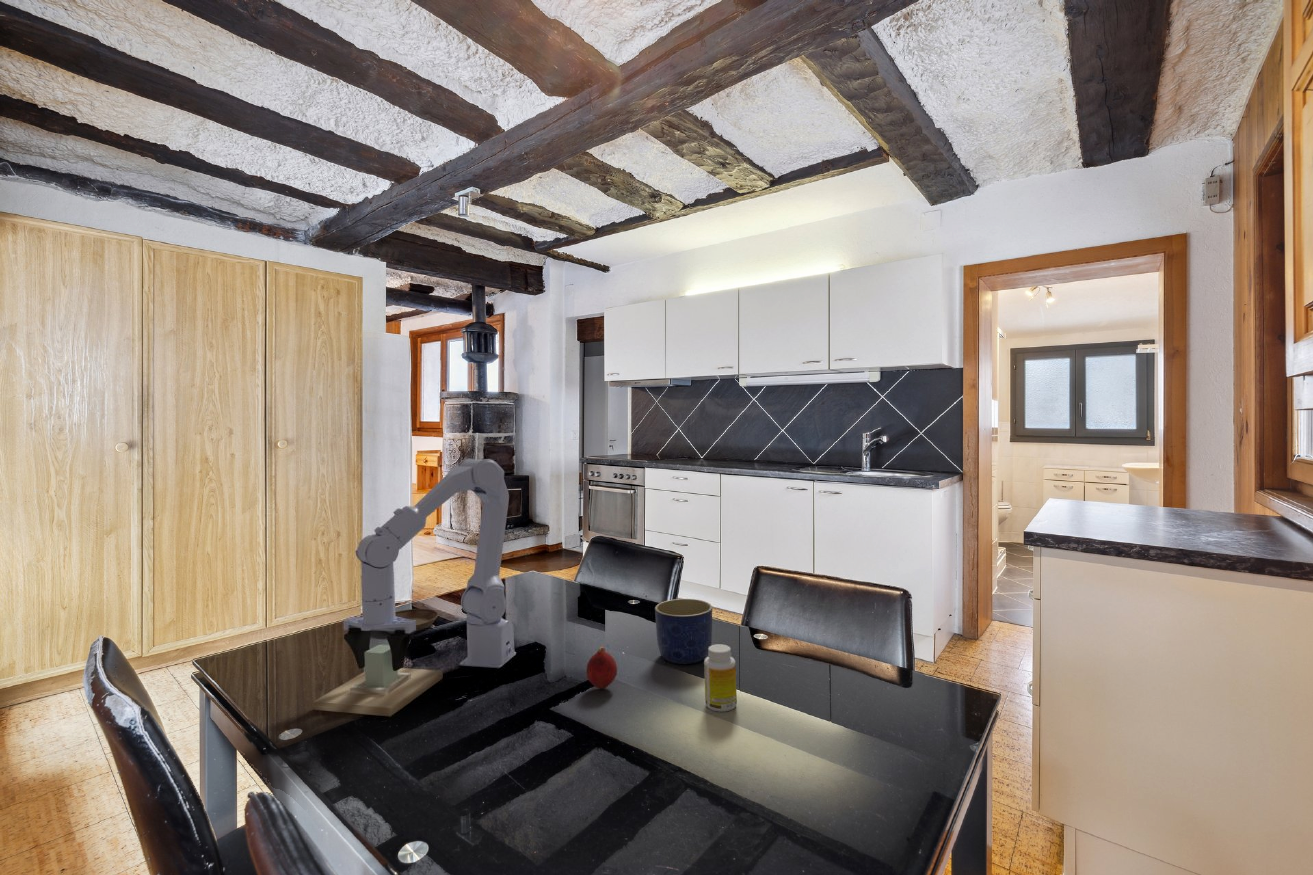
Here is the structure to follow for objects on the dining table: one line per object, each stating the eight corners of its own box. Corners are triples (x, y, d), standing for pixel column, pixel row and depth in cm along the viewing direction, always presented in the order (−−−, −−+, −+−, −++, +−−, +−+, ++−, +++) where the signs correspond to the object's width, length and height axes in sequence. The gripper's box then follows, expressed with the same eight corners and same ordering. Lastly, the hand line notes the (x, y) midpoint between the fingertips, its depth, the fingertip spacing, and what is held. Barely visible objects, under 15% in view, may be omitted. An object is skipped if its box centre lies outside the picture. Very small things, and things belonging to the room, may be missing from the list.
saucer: (444, 628, 149) (444, 618, 149) (382, 641, 141) (381, 630, 141) (431, 614, 161) (430, 605, 161) (372, 626, 153) (372, 615, 153)
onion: (612, 697, 107) (611, 654, 107) (582, 695, 108) (581, 652, 108) (620, 683, 112) (619, 642, 112) (592, 681, 114) (591, 641, 114)
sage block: (397, 681, 113) (396, 645, 113) (383, 690, 109) (382, 653, 109) (380, 679, 114) (379, 644, 114) (365, 688, 110) (364, 652, 110)
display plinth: (442, 678, 117) (442, 665, 117) (390, 716, 102) (390, 702, 102) (374, 673, 121) (373, 661, 121) (313, 709, 105) (313, 695, 105)
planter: (647, 664, 122) (646, 612, 122) (668, 643, 133) (667, 596, 133) (703, 671, 117) (702, 618, 117) (720, 649, 128) (719, 600, 128)
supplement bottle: (743, 708, 101) (741, 650, 101) (716, 715, 99) (714, 656, 99) (725, 695, 106) (724, 640, 106) (699, 702, 104) (697, 645, 104)
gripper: (330, 602, 109) (332, 673, 109) (398, 604, 106) (400, 678, 106) (357, 591, 116) (359, 659, 116) (421, 594, 113) (423, 663, 113)
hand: (380, 667), depth 111 cm, fingers open, 7 cm apart
